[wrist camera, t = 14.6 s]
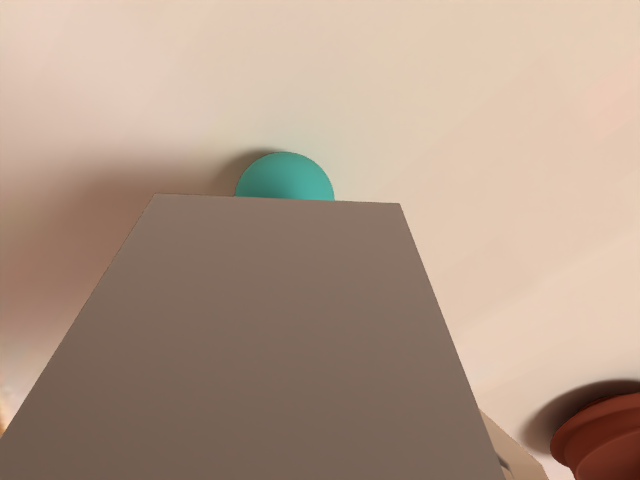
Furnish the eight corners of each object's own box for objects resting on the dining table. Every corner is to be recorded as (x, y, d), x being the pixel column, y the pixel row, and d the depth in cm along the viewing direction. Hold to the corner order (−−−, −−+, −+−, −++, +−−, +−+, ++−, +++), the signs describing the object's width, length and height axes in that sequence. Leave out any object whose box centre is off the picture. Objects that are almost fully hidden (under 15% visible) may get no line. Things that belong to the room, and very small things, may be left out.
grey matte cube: (155, 193, 12) (-75, 558, 5) (399, 203, 12) (532, 549, 5) (185, 355, 16) (89, 680, 9) (367, 358, 17) (416, 669, 9)
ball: (234, 267, 21) (243, 189, 23) (330, 270, 21) (328, 193, 24) (221, 216, 17) (234, 126, 19) (342, 221, 17) (339, 133, 19)
